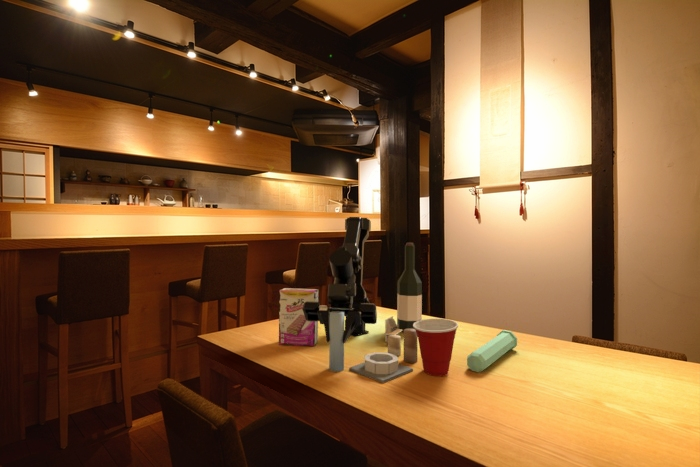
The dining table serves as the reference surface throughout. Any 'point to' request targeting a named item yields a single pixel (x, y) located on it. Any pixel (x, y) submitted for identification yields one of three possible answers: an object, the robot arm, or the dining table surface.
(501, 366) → the dining table surface
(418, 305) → the wine bottle
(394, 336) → the short dowel
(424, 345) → the plastic cup
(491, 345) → the container
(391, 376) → the socket
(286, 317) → the candy bar box
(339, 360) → the long dowel
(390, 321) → the architectural model
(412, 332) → the medium dowel
